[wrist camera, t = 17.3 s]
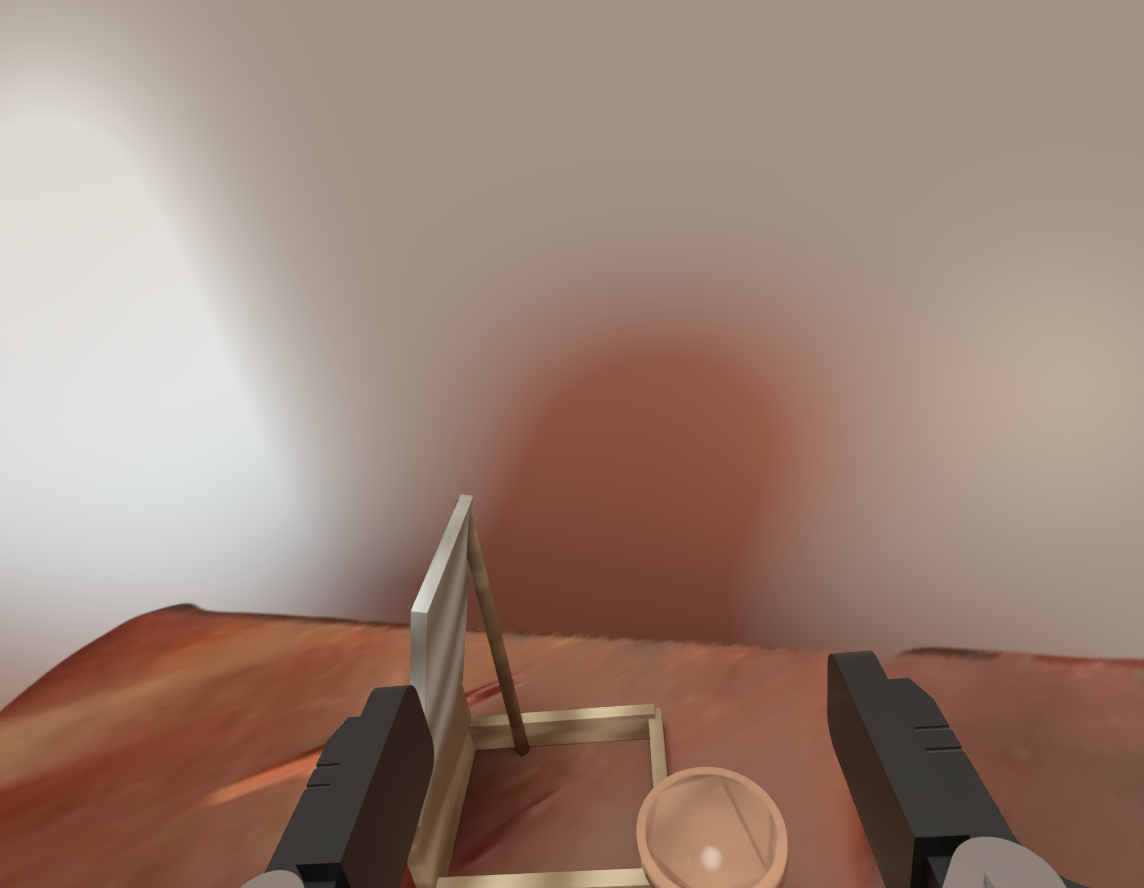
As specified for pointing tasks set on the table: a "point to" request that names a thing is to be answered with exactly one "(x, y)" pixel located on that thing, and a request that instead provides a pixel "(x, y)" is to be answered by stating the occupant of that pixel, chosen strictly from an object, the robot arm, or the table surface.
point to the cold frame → (491, 718)
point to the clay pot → (711, 833)
